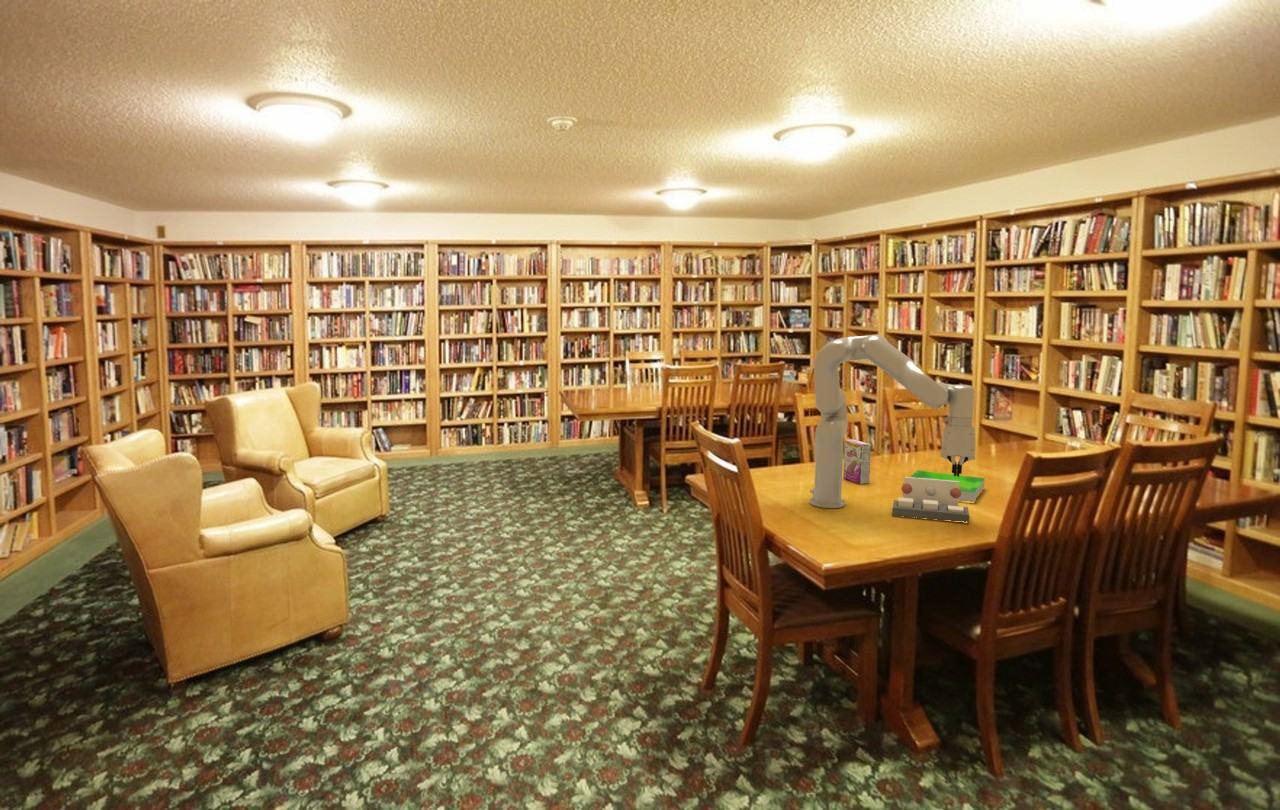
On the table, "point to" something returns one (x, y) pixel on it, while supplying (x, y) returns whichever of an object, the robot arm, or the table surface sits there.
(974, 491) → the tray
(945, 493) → the button panel
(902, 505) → the button
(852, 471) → the candy bar box
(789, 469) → the table surface
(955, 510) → the button
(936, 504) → the middle button
